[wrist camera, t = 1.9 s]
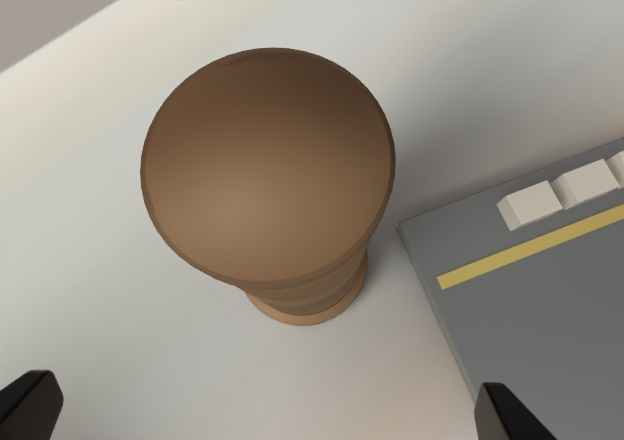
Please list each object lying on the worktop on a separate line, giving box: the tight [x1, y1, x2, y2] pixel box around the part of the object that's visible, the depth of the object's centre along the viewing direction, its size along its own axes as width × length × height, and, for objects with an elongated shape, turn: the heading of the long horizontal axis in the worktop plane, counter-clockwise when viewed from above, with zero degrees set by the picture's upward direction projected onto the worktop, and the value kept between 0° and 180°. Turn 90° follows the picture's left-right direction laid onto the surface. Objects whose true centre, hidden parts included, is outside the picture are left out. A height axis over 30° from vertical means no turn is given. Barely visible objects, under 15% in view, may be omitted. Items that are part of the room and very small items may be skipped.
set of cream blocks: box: [496, 151, 624, 231], centre depth 20 cm, size 1×8×1 cm, turn 110°
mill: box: [140, 48, 396, 326], centre depth 15 cm, size 6×6×12 cm
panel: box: [397, 137, 624, 440], centre depth 20 cm, size 14×13×1 cm
